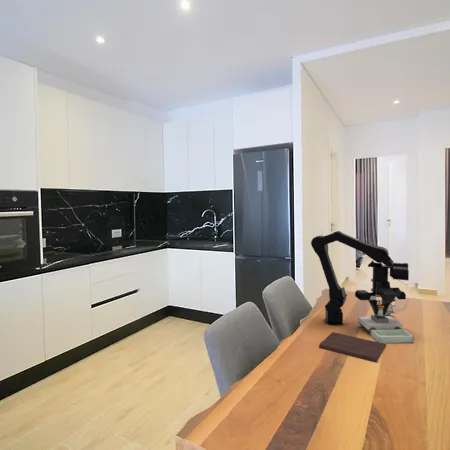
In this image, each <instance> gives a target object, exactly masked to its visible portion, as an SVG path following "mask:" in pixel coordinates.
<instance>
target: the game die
mask: <svg viewBox="0 0 450 450" xmlns="http://www.w3.org/2000/svg"><path fill="white" fill-rule="evenodd" d="M377 301H378V302H377V303H382V299H381V300H380V299H378V300H377ZM394 307H396V305H393V303H391V304H390V305H389V307H388V309H387V311H386V314H385V315H384V316H391V317H392V314H395V311H394Z"/></svg>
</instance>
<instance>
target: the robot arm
mask: <svg viewBox="0 0 450 450" xmlns="http://www.w3.org/2000/svg"><path fill="white" fill-rule="evenodd" d="M334 242H339V243H341V244H343V245H346V246H348V247H350V248H352V249H354V250H357V251H359V252H361V253H364V255H366V256H367V257H368V258H370V259H371V262H370V263H369V264H368V265H367V267H368V268H372V278H370V279H371V281H370V282H372V288H370V291H371V292H369V291H367V290H365V289H358V290H357V289H356V291H355V292H354V297H356V298H357V299H358V300H360V301H368V302H369V304H370V307H371V309H372V312H373V315H377V303H378V302H379V301H378V300H377V298H381V300H382V304H384V307H383V315H385V314H386V311H387V309H388V307H389V305H390V304H393V302H396V299H397V300H406V298H407V295H406V293H405V291H403V290H402V289H400V287H391V282H390V281H389V277H390V278H392V280H397V281H398V280H399V281H409V275H410V274H409V273H410V272H409V263H407V262H402V263H401V262H394V260H393V259H392V258H391V257H390V255H389V251H388V249H387V248H385V247H383V246H379V245H375V244H370V243H367V242H365V241H362V240H360V239H357V238H355V237H354V236H351V235H348V234H346V233H344V232H342V231H340V230H336V231H335V232H334V231H333V233H330V234H326V235H322V234H321V235H317V236H314V237H313V238H312V239H311V241H310V245H311V247H312V249H313V251H314V252H315V254H316V255H317V256H318V259H319V262H320V264H321V268H322V270H323V273H324V277H325V280H326V283H327V285H328V297H329V300H328V301H327V303H326V304H325V305H324V308H325V318H324V319H323V320H324V321H325V323H326V324H327V325H330V326H331V325H332V326H334V325H335V326H337V325H339V326H340V325H344V323H343V322H344V319H343V317H344V313H343V309H342V307H343V306H344V305H345V303H346V302H347V297H348V294H347V293H346V290H345V289H346V288H345V287H344V286H343V287H341V286H340V284H339V281H338V278H337V276H336V272H335V270H334V266H333V264H332V261H331V258H330V255H329V254H330V253H329V244H331V243H334Z"/></svg>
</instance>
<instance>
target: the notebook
mask: <svg viewBox="0 0 450 450" xmlns="http://www.w3.org/2000/svg"><path fill="white" fill-rule="evenodd" d="M318 345H319V346H318V348H320V349H323V350H327V351H330V352H333V353H338V354H342V355H346V356H351V357H354V358H358V359H361V360H364V361H369V362H373V363H377V362H378V360H379V359H380V357H381V356H382V353H383V352H384V349H385V348H386V347H387V343H386V344H384V343H379V342H377V341H376V340H375V341H374V340H371V339H370V340H369V339H366V338H361V337H355V336H352V335H348V334H343V333H339V332H335V331H332V332H331V333H330V334H329V335H327V337H326V338H324V340H321V342H319V344H318Z"/></svg>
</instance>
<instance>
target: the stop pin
mask: <svg viewBox="0 0 450 450" xmlns="http://www.w3.org/2000/svg"><path fill="white" fill-rule="evenodd" d="M383 307H384V304H382V303H378V302H377V318H383Z"/></svg>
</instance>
